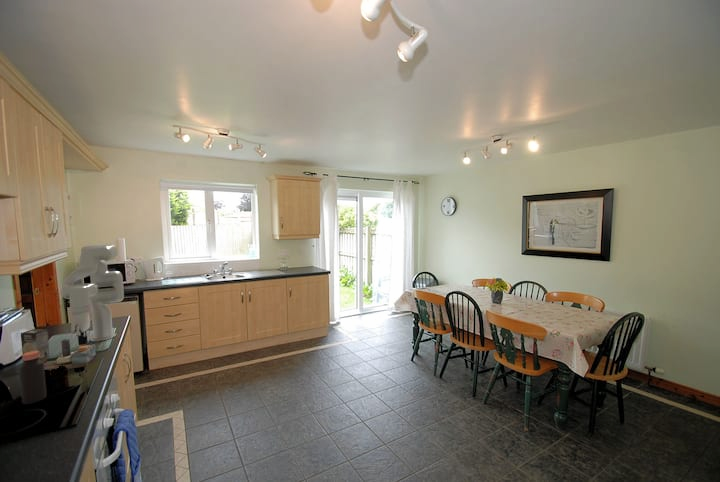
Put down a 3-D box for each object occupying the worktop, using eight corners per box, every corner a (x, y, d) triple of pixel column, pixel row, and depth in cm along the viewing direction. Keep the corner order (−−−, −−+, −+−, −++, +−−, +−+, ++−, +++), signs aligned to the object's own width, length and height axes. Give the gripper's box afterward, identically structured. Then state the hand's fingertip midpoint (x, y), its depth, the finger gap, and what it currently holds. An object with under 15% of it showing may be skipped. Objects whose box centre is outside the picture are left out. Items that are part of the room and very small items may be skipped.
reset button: (81, 351, 161) (80, 346, 161) (89, 350, 163) (88, 345, 163) (78, 354, 158) (78, 348, 158) (86, 353, 160) (86, 347, 160)
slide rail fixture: (41, 365, 158) (40, 352, 158) (96, 356, 168) (95, 344, 167) (28, 375, 147) (26, 361, 147) (87, 365, 157) (86, 352, 156)
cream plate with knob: (64, 357, 160) (62, 338, 160) (76, 355, 162) (75, 336, 162) (56, 363, 153) (55, 343, 153) (69, 361, 155) (68, 342, 155)
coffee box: (22, 362, 162) (19, 333, 161) (36, 357, 169) (33, 328, 168) (37, 362, 161) (34, 333, 160) (50, 357, 168) (48, 329, 167)
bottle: (31, 405, 122) (26, 357, 121) (18, 403, 124) (13, 356, 122) (51, 396, 129) (47, 350, 128) (38, 394, 130) (34, 349, 129)
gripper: (77, 307, 164) (80, 340, 165) (64, 314, 151) (67, 350, 152) (95, 305, 167) (97, 338, 168) (83, 312, 154) (86, 347, 155)
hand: (83, 344), depth 160 cm, fingers closed
